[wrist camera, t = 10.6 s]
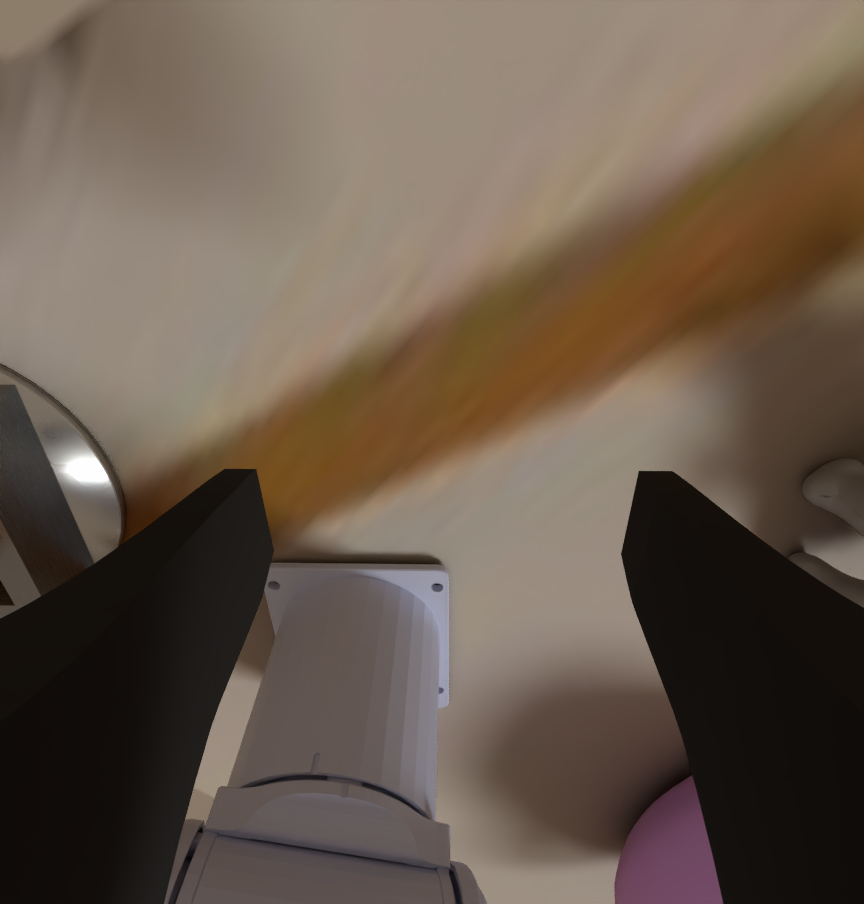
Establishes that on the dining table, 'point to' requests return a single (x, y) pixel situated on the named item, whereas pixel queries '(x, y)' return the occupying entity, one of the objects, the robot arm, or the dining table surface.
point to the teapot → (669, 854)
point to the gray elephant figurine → (846, 495)
